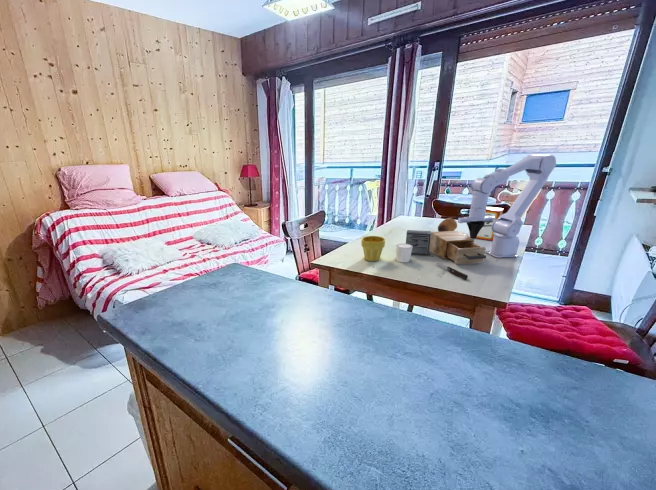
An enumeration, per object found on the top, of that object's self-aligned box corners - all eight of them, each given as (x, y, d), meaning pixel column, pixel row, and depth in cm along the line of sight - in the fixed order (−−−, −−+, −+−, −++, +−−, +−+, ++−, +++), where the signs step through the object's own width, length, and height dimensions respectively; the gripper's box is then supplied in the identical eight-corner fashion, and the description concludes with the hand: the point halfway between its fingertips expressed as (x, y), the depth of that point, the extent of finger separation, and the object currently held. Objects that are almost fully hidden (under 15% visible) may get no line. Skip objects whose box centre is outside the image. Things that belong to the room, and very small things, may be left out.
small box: (428, 251, 157) (431, 230, 154) (428, 255, 152) (431, 234, 148) (405, 249, 162) (407, 229, 158) (404, 253, 156) (406, 232, 152)
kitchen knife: (467, 280, 126) (468, 275, 125) (465, 280, 125) (466, 275, 125) (436, 264, 142) (436, 260, 141) (434, 264, 142) (434, 260, 141)
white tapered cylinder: (408, 263, 144) (410, 248, 142) (393, 261, 148) (394, 246, 146) (413, 259, 149) (414, 244, 147) (397, 256, 153) (399, 242, 151)
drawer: (489, 266, 134) (492, 251, 132) (461, 268, 134) (464, 252, 132) (464, 252, 151) (467, 238, 148) (440, 254, 151) (442, 240, 148)
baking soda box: (497, 238, 170) (503, 207, 164) (493, 241, 166) (500, 210, 160) (476, 235, 177) (482, 205, 171) (473, 238, 173) (478, 208, 166)
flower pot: (371, 264, 146) (372, 243, 142) (356, 258, 155) (356, 238, 151) (388, 259, 150) (390, 239, 147) (372, 253, 159) (373, 234, 155)
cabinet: (471, 257, 147) (474, 239, 144) (443, 259, 147) (445, 240, 144) (453, 247, 161) (456, 230, 158) (428, 249, 161) (430, 232, 158)
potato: (443, 241, 180) (431, 231, 182) (454, 230, 187) (442, 221, 189) (452, 232, 174) (439, 222, 176) (462, 221, 180) (450, 212, 183)
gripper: (489, 204, 142) (483, 234, 147) (456, 206, 142) (451, 236, 147) (500, 207, 135) (493, 239, 140) (465, 209, 135) (460, 241, 140)
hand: (472, 238), depth 143 cm, fingers closed
